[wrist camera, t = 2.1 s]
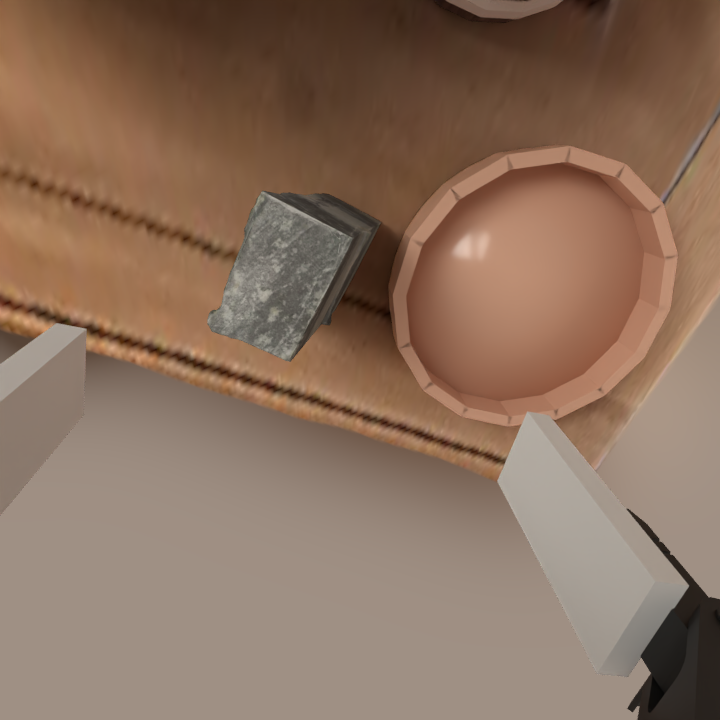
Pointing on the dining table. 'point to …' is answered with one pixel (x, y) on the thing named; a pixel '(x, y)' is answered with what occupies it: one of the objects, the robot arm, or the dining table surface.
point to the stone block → (291, 270)
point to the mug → (496, 8)
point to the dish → (532, 283)
